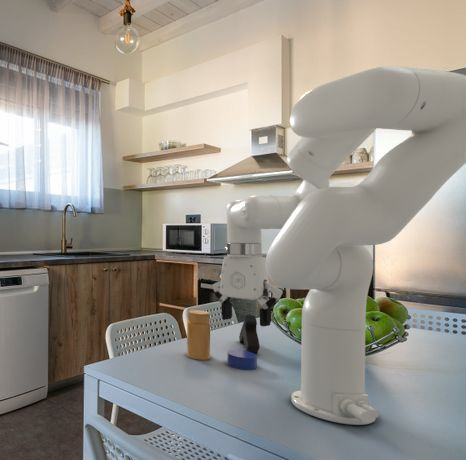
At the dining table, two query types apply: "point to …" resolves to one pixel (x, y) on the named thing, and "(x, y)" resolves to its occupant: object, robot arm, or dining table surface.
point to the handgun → (249, 334)
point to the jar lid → (241, 359)
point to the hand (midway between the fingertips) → (245, 322)
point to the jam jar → (198, 335)
